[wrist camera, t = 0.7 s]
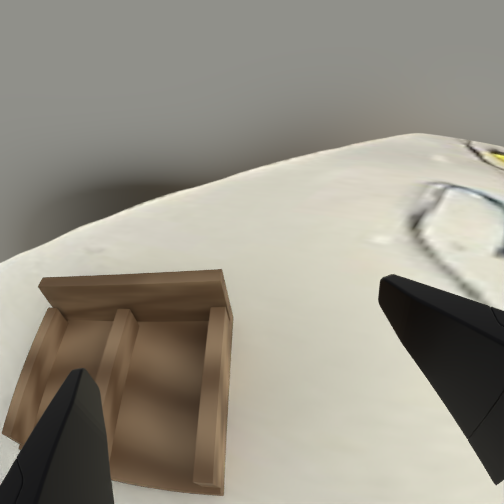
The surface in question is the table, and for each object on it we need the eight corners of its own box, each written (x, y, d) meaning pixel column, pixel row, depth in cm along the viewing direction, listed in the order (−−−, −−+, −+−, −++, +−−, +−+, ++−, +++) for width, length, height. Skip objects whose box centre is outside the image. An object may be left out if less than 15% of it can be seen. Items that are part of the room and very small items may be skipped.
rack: (223, 495, 17) (202, 486, 13) (26, 453, 19) (-20, 426, 14) (233, 317, 29) (221, 269, 25) (70, 317, 30) (42, 277, 26)
